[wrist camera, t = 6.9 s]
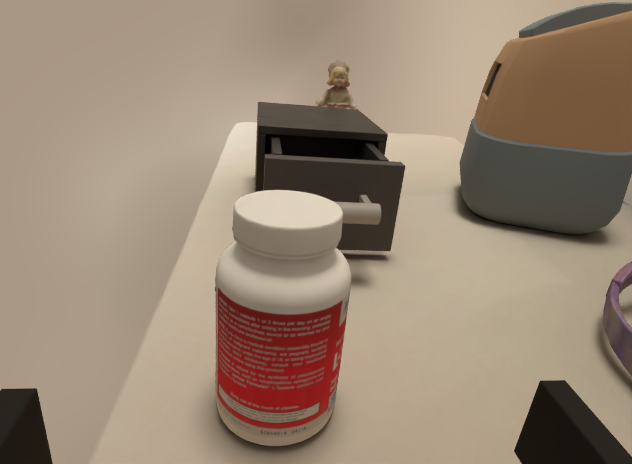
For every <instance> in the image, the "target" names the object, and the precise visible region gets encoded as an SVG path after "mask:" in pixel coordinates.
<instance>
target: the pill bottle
mask: <svg viewBox="0 0 632 464" xmlns="http://www.w3.org/2000/svg"><path fill="white" fill-rule="evenodd" d="M342 220H343V212H342V209H341V207H340V206H339V205H338V204H336V203H335V202H333V201H331V200H329V199H327V198H324V197H321V196H318V195H314V194H311V193H305V192H299V191H289V190H266V191H258V192H253V193H250V194H247V195H244V196H242V197H240V198H239V199H238V200H237V201H236V202H235V205H234V216H233V228H232V229H233V233H234V239H235V240H236V241H235V242H233V243H232V244H231V245H230V246H228V247H227V248H226V250H225V251H224V252H223V253H222V255H221V257H220V258H219V261H218V264H217V269H216V279H215V281H216V288H215V291H216V402H217V408H218V411H219V414H220V416H221V418H222V420H223V422H224V423H225V424H226V426H227V427H228V428H229V429H230V430H231V431H232V432H233V433H235V434H236V435H237V436H239V437H241V438H242V439H245V440H247V441H250V442H253V443H256V444H260V445H266V446H285V445H290V444H295V443H298V442H301V441H304V440H306V439H308V438H310V437H311V436H313V435H315V434H316V433H317V432H319V431H320V430H321V429H322V428H323V427H324V426H325V424H326V423H327V421H328V420H329V418H330V416H331V413H332V411H333V407H334V403H335V397H336V390H337V383H338V376H339V369H340V362H341V355H342V347H343V340H344V332H345V325H346V317H347V310H348V302H349V295H350V287H351V271H350V267H349V264H348V262H347V260H346V258H345V257H344V255H343V254H342V253H341V252H340V251H339V250H338V249H337V248H336V247H337V245H338V243H339V241H340V239H341V234H342Z"/></svg>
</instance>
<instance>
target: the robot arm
mask: <svg viewBox="0 0 632 464" xmlns="http://www.w3.org/2000/svg"><path fill="white" fill-rule="evenodd" d="M514 452H515V453H516V455H517V457H518V458H519V460H520V462H521V463H522V464H632V457H631V456H630V454H629V453H628V452H627V451H626V450H625V449H624V448H623V446H622V445H621V444H620V443H619V442H618V441H617V440H616V438H615V437H614V436H613V435H612V434H611V433H610V431H609V430H608V429H607V428H606V427H605V426H604V425H603V423H602V422H601V421H600V420H599V419H598V418H597V417H596V415H595V414H594V413H593V412H592V411H591V410H590V409H589V407H588V406H587V405H586V404H585V403H584V402H583V401H582V399H581V398H580V397H579V396H578V395H577V394H576V393H575V391H574V390H573V389H572V388H571V387H570V386H569V385H568V383H567V382H566V381H565V380H562V381H540V383H539V385H538V388H537V391H536V393H535V396H534V399H533V401H532V404H531V407H530V409H529V412H528V415H527V418H526V420H525V423H524V426H523V428H522V431H521V434H520V436H519V439H518V442H517V444H516V447H515V450H514ZM0 464H52V459H51V454H50V449H49V444H48V440H47V435H46V430H45V425H44V421H43V416H42V411H41V407H40V402H39V397H38V393H37V389H2V390H1V391H0Z"/></svg>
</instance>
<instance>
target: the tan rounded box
mask: <svg viewBox="0 0 632 464" xmlns="http://www.w3.org/2000/svg"><path fill="white" fill-rule="evenodd" d="M631 174H632V3H616V2H614V3H613V2H612V3H600V4H593V5H587V6H582V7H578V8H575V9H572V10H568V11H565V12H561V13H559V14H555V15H552V16H549V17H546V18H544V19H541V20H539V21H537V22H535V23H533V24H531V25H529V26H527V27H525V28H524V29H522V30H521V31H519V38H517V39H513V40H510V41H509V42H507V43H506V45H505V46H504V47H503V49H502V50H501V52H500V54H499V55H498V57H497V58H496V60H495V61H494V64H493V65H492V67H491V70H490V72H489V74H488V77H487V80H486V82H485V85H484V88H483V90H482V93H481V97H480V100H479V103H478V107H477V110H476V114H475V117H474V119H472V121H471V124H470V128H469V132H468V135H467V139H466V142H465V146H464V149H463V153H462V156H461V160H460V175H461V187H462V197H463V199H464V200H465V202H466V204H467V206H468V207H469V208H470V210H471V211H473V212H474V213H475V214H477V215H479V216H481V217H483V218H485V219H488V220H492V221H496V222H500V223H506V224H511V225H517V226H523V227H529V228H534V229H540V230H546V231H551V232H557V233H563V234H584V233H590V232H594V231H596V230H598V229H600V228H602V227H604V226H606V225H608V224H609V223H610V222H611V220H612V219H613V218H614V217H615V216H616V215H617V214H618V212H619V211H620V209H621V206H622V203H623V199H624V196H625V193H626V190H627V187H628V184H629V180H630V178H631Z"/></svg>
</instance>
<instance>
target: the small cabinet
mask: <svg viewBox="0 0 632 464" xmlns="http://www.w3.org/2000/svg"><path fill="white" fill-rule="evenodd" d="M270 134H274V135H289V136H305V137H320V138H335V139H351V140H366V141H370V142H371V143H372V144H373V145H374V146H375V147H376V148H377V149H378V150H379V151H380V152H381V153H382V154H383V155H385V148H386V141H387V135H388V134H387V133H386V132H384V131H383V130H382V129H380V127H378V126H377V125H376V124H374V123H373V122H372V121H371V120H370V119H368V118H367V117H366V116H365V115H364V114H362V113H361V112H360V111H359V110H357V109H345V108H331V107H318V106H305V105H292V104H291V105H290V104H278V103H277V104H276V103H265V102H258V116H257V143H256V171H255V192H258V191H263V185H264V163H265V154H269V136H270Z"/></svg>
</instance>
